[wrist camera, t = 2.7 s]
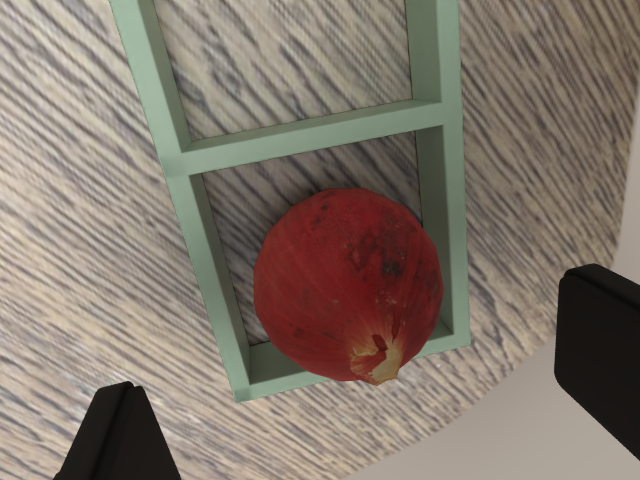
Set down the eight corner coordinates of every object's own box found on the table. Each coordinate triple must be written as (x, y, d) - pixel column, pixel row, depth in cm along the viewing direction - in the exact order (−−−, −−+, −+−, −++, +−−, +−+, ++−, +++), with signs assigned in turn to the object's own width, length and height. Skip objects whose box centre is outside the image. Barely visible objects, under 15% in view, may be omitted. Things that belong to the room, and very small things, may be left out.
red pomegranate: (288, 141, 15) (329, 201, 8) (420, 201, 17) (558, 296, 9) (230, 279, 17) (217, 439, 9) (356, 320, 18) (432, 484, 11)
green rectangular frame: (410, -221, 12) (449, -293, 10) (443, 312, 19) (471, 345, 17) (74, -181, 11) (29, -249, 9) (237, 363, 18) (235, 404, 16)
